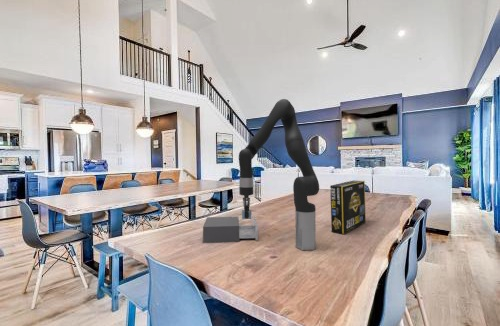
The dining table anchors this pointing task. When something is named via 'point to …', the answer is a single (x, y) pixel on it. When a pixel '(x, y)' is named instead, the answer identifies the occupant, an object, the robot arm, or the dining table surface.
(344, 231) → the box
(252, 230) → the tray
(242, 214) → the cartridge
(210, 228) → the housing
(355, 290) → the dining table surface
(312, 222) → the robot arm
